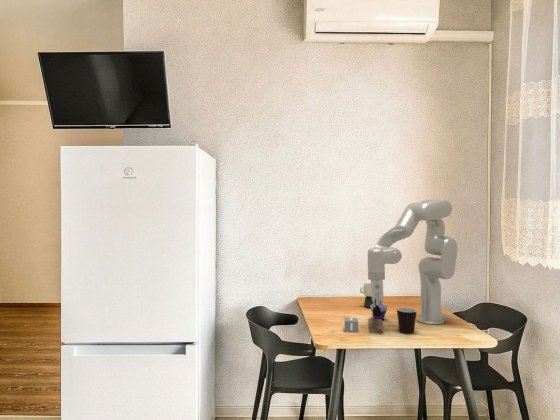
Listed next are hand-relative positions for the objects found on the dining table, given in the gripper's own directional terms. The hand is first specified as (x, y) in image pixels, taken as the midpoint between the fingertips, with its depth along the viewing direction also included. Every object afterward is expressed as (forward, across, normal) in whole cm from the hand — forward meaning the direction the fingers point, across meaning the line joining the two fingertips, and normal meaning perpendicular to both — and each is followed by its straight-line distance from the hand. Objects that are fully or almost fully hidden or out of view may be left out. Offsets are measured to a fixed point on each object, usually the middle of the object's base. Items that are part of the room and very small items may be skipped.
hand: (376, 316), depth 203 cm
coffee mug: (+7, -1, -12) cm, 14 cm away
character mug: (+8, +47, +1) cm, 48 cm away
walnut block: (+7, -1, +1) cm, 7 cm away
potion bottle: (+8, +21, -2) cm, 23 cm away
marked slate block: (+7, 0, +12) cm, 13 cm away
